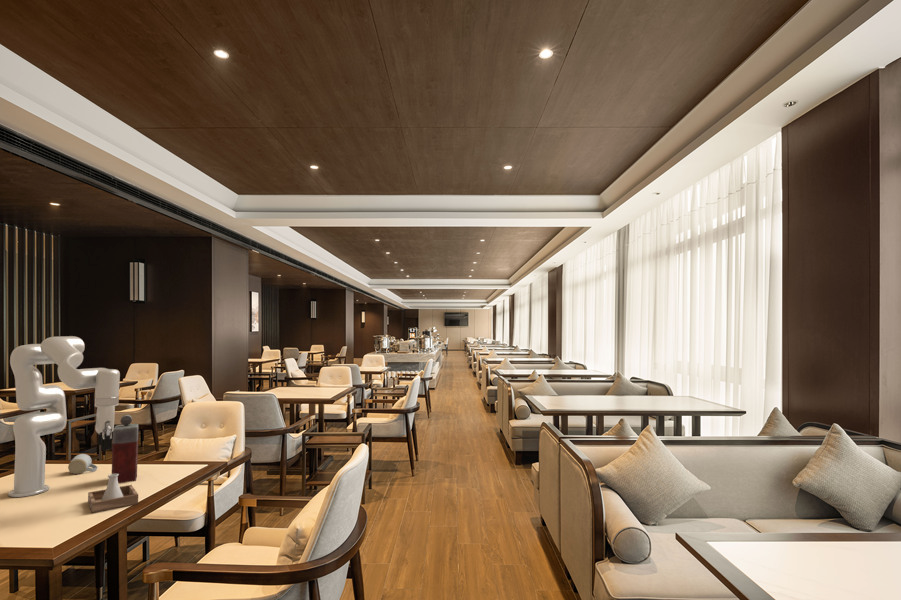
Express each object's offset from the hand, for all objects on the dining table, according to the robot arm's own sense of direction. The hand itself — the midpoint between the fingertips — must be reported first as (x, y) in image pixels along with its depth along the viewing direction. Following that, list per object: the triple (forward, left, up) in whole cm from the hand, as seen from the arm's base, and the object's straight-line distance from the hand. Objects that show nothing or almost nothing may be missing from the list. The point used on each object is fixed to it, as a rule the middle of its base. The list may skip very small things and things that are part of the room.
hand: (104, 447), depth 187 cm
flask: (+2, +3, -21) cm, 21 cm away
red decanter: (-31, +11, -21) cm, 39 cm away
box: (+2, +3, -21) cm, 21 cm away
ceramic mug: (-58, -2, -21) cm, 62 cm away
